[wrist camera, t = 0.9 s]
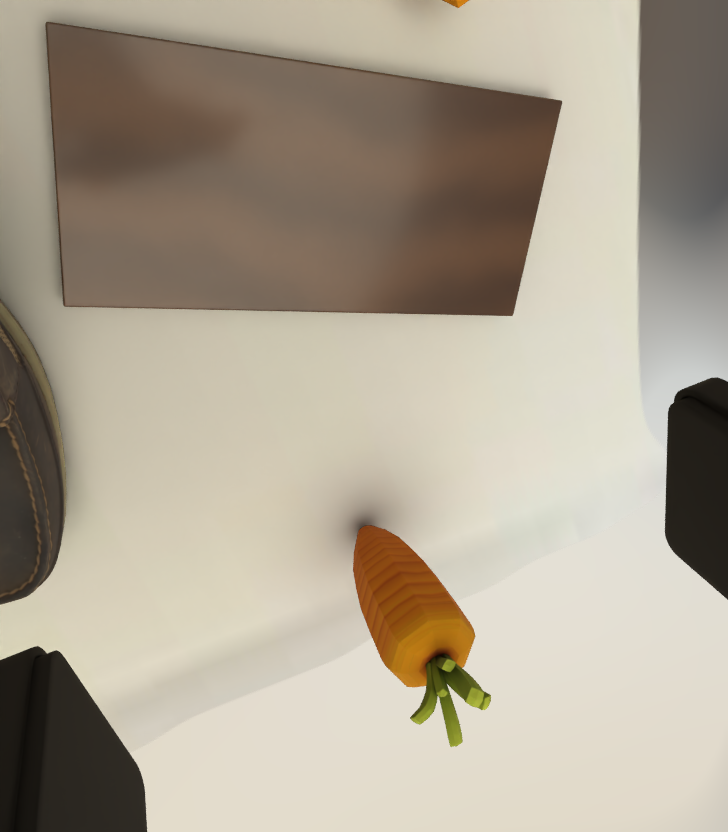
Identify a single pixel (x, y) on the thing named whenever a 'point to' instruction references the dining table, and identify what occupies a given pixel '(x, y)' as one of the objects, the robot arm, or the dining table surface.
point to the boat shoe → (27, 467)
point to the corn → (456, 2)
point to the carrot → (415, 625)
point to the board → (286, 182)
